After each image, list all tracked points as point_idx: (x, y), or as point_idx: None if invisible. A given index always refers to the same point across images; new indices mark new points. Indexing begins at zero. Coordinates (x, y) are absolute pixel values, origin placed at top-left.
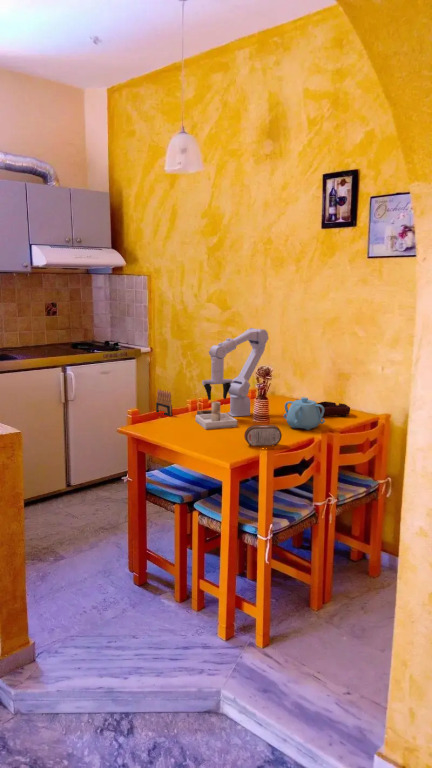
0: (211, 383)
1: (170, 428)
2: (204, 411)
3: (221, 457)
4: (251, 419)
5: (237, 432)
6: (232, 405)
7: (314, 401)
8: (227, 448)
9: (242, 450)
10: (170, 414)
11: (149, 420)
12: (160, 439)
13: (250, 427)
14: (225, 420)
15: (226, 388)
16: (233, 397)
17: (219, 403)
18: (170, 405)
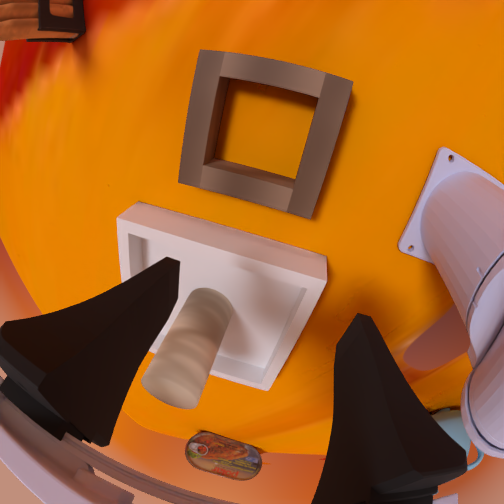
0: (95, 467)
1: (46, 243)
2: (254, 81)
3: (135, 418)
4: (419, 328)
5: (231, 394)
6: (444, 260)
7: (450, 480)
8: (156, 414)
9: (178, 429)
10: (71, 35)
11: (9, 103)
12: (38, 307)
13: (191, 464)
14: (270, 315)
15: (327, 471)
16: (469, 319)
17: (184, 407)
18: (30, 38)
